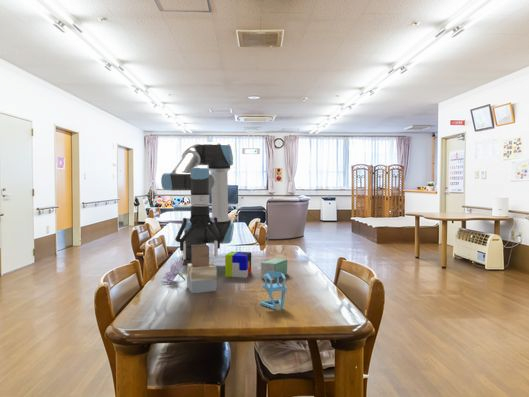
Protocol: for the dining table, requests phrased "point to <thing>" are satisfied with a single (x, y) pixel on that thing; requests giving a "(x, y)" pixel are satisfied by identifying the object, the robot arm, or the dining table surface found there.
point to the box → (274, 267)
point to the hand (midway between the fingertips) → (200, 257)
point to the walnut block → (200, 255)
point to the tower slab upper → (202, 272)
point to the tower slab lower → (201, 285)
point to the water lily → (174, 271)
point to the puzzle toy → (238, 264)
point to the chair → (274, 289)
